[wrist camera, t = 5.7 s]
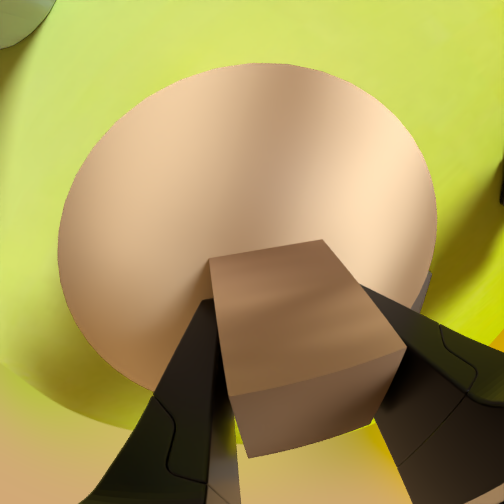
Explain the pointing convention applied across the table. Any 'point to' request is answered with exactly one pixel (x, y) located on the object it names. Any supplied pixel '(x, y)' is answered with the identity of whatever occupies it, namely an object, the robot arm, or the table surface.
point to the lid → (254, 243)
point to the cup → (21, 19)
